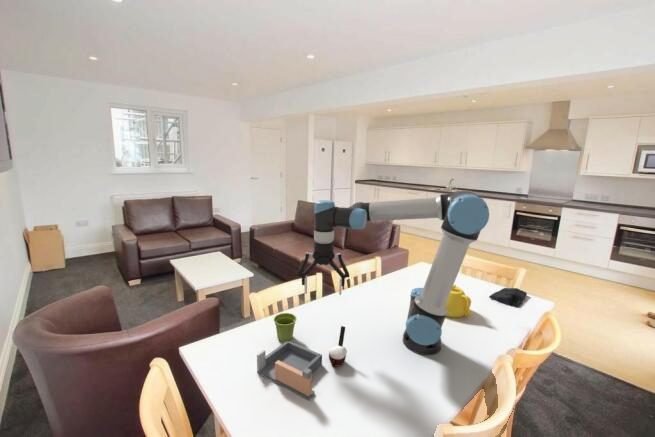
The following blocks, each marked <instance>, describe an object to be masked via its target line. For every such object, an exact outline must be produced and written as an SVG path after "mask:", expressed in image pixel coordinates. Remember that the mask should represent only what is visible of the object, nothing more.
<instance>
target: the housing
mask: <svg viewBox="0 0 655 437" xmlns="http://www.w3.org/2000/svg"><path fill="white" fill-rule="evenodd" d="M278 360H279V361H281V362H283V363H285V364H287V365H289V366H291V367H293V368H295V369H297V370H299V371H301V372H303V370H304V369H306V368H308V369H310V370H312V375H313V374H314V373H315V372H316V371H317V370H318V369H319V368H320V367H321V366H322V365H323V355H322V354H321V353H318V352H315V351H314V350H311V349H309V348H307V347H304V346H302V345H300V344H298V343H295V342H293V341H291V340H290V341H289V340H287V341H286V342H283V343H282V344H280V345H279V346H278V347H276V348H275V349H274V350H272V351H271V352H269V353H268V354H267V355H266V350H265V349H263V350H262V351H260V352H259V353H257V354H256V373H257V374H258V375H260V376H262V377H264V378H266V379H268V380H270V381H271V382H274V383H276V385H279V386H281V387H283V388H284V389H287V390H288V391H291V392H292V393H294V394H296V395H297V396H299V397H300V398H303V399H305V400H307V401H309V400H310V399H311V398H312V397H314V395H316V394H315V393H316V392H315V390H314V389H312V394H311V395H310V396H309V397H308V396H306V395H305V394H303V393H301V392H299V391H297V390H295V389H293V388H291V387H290V386H288V385H286V384H284V383H282V382H280V381H278V380H276V379H275V362H277V361H278Z"/></svg>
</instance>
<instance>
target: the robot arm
mask: <svg viewBox="0 0 655 437" xmlns="http://www.w3.org/2000/svg"><path fill="white" fill-rule="evenodd" d="M335 204H336V203H335V201H333V200H329V199H328V200H327V199H324V200H322V199H321V200H316V202H314V211H313V216H314V217H313V219H314V222H313V223H314V224H313V225H314V227H313V228H314V229H313V240H314V241H313V252H309V251H306V253H305V257H304V259H303V261H302V263H301V266H300V267H299V270H298V271H297V274H296V276H297V277H301V286H304V295H307V293H308V276H307V275H308V274H309V273H310V272H311V271H312V270H313V269H314V268H315V267H316V266H317V265H319V266H323V265H324V266H328V265H330V267H332V268H333V270H334V272H336V273H337V275H338V276H339V286H338V287H339V288H338V295H339V296H341V295H342V288H343V287H345V282H346V281H345V279H346V278H349V277H350V273H349V270H348V268H347V266H346V265H345V261H344V260H343V257H342V252H338V253H334V250H335V249H334V248H335V247H334V245H335V242H334V239H335V228H342V229H349V230H350V229H351V230H363V229H365V228H366V225H367V222H379V221H381V222H382V221H397V220H399V221H403V220H420V219H421V220H422V219H423V220H424V219H439V220H440V221H442V224H441V226H440V229H441V232H442V234H443V235H442V238H441V240H440V242H439V246H438V247H437V251H436V253H435V256H434V259H433V261H432V264H431V267H430V269H429V273H428V274H427V275H428V276H427V277H426V280H425V283H424V286H423V287H415V288H412V289H411V291H410V300H409V301H410V302H409V307H408V313H407V319H406V322H405V330H404V332H403V334H402V342H403V345H404V346H405V348H407V349H409V350H410V351H412V352H414V353H416V354H417V353H418V354H421V355H435V354H437V353H439V352H440V351H441V350H442V344H443V342H442V341H443V340H442V337H441V336H442V333H443V330H442V327H443V324H444V322H445V320H446V318H447V317H446V315H447V312H448V311H447V309H446V307H445V304H446V302H447V299H448V297H449V294H450V292H451V289H452V287H453V285H455V282H456V279H457V277H458V274H459V272H460V270H461V267H462V264H463V263H464V260H465V257H466V255H467V251H468V250H469V248H470V245H471V244H472V243H474V242H476V241H478V238H479V236H480V234H481V231H482V230H483V229H484V228H485V227H486V226H487V225H488V222H489V220H490V219H489V218H490V210H489V206H488V204H487V202H486V201H485V200H484V198H482V197H481V196H479V195H478V194H476V193H475V192H473V191H469V190H467V191H466V190H462V191H456V192H452V193H450V192H449V193H444V194H443V193H442V194H438V196H436V197H427V198H425V197H424V198H415V199H414V198H413V199H412V198H411V199H399V200H387V201H386V200H384V201H372V202H362V201H358V202H355V203H353V204H352V205H351V206H348V207H342V206H341V207H340V206H336V205H335ZM312 258H313V261H312V263H311V264H310V265H309V266H308V267H307V268H306V269H305V267H306V265H307V264H308V261H309V260H310V259H312ZM334 259H336V260H338V262H339V264H340V266H341V268H342V270H341V269H340V267H339V266H338V265H337V264H336V263H335V261H334ZM304 269H305V270H304Z"/></svg>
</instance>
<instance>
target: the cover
mask: <svg viewBox="0 0 655 437" xmlns="http://www.w3.org/2000/svg"><path fill="white" fill-rule="evenodd" d="M312 375H313V374H312V370H310V369H308V368H306V369H304V370H303V372H301V371H299V370H297V369H295V368H293V367H291V366H289V365H287V364H285V363H283V362H281V361H279V360H278V361H277V362H275V379H276V380H278V381H280V382H282V383H284V384H286V385H288V386H290V387H291V388H293V389H295V390H297V391H299V392H301V393H303V394H305V395H306V396H308V397H309V396H310V395H311V394H312V390H313V388H312V387H313V384H312V383H313V376H312Z"/></svg>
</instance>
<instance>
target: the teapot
mask: <svg viewBox="0 0 655 437" xmlns="http://www.w3.org/2000/svg"><path fill="white" fill-rule="evenodd" d="M471 306H472V300H471V298H470V297H469V296H468V295H466V293H465V292H464V291H463V289H462V288H460V287H458V286H456V285H455V284H454V285H453V287H452V289H451V292H450V294H449V297H448V299H447V302H446V304H445V307H446V309H447V311H448V312H447V315H446V317H445V318H452V319H453V318H454V319H459V318H463V317H464V316H466V317H470V316H471V315H472V311H471V310H470V307H471Z"/></svg>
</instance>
